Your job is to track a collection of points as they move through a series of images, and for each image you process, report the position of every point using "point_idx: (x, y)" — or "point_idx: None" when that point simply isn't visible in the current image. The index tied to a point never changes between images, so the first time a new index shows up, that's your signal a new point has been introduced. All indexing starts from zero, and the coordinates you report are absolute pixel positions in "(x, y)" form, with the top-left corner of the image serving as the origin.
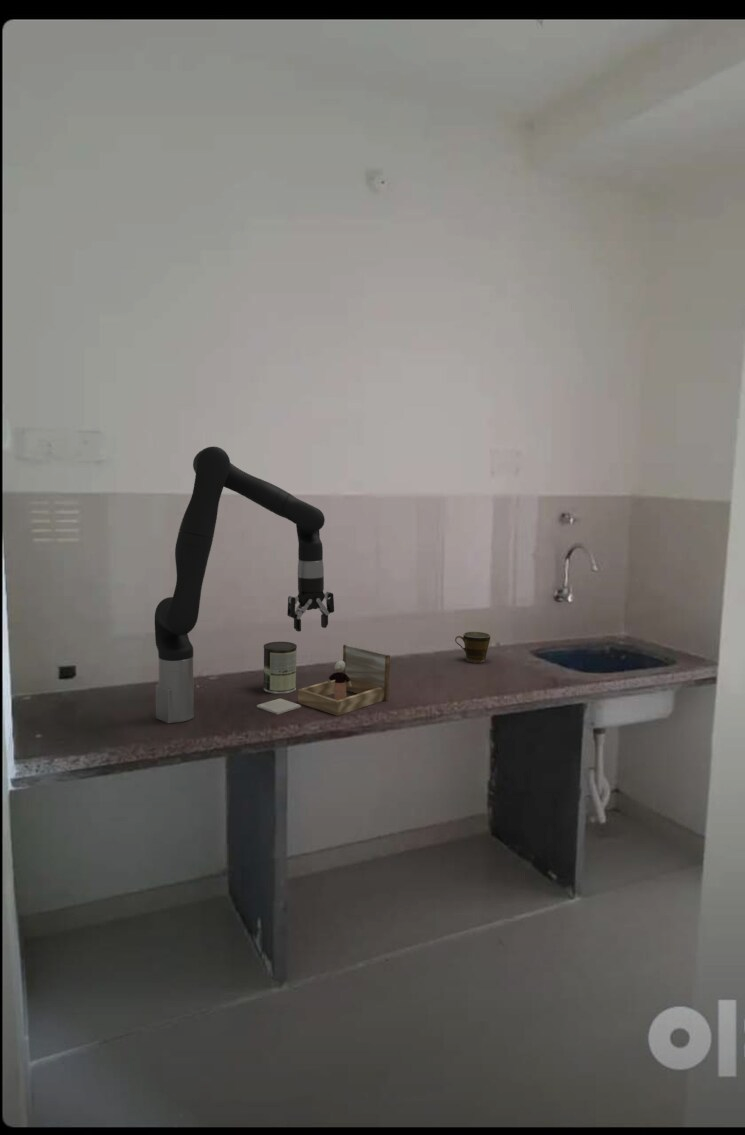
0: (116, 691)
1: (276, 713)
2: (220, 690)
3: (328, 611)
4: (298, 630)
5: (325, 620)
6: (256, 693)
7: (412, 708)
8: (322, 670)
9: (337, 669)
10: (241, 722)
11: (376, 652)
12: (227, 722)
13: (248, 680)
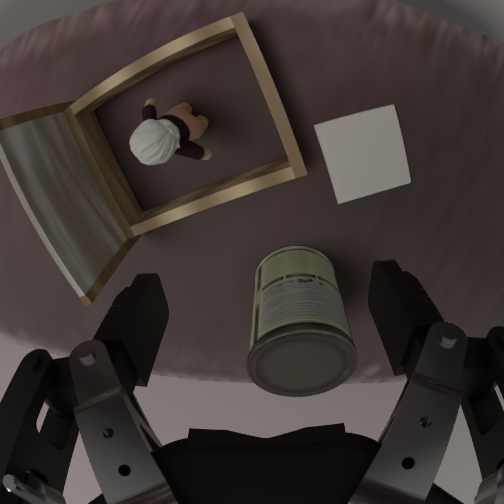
0: None
1: (393, 108)
2: None
3: (70, 374)
4: (392, 267)
5: (128, 309)
6: (359, 271)
7: (55, 39)
8: None
9: (173, 124)
10: (473, 106)
11: (10, 174)
12: (491, 124)
13: None
